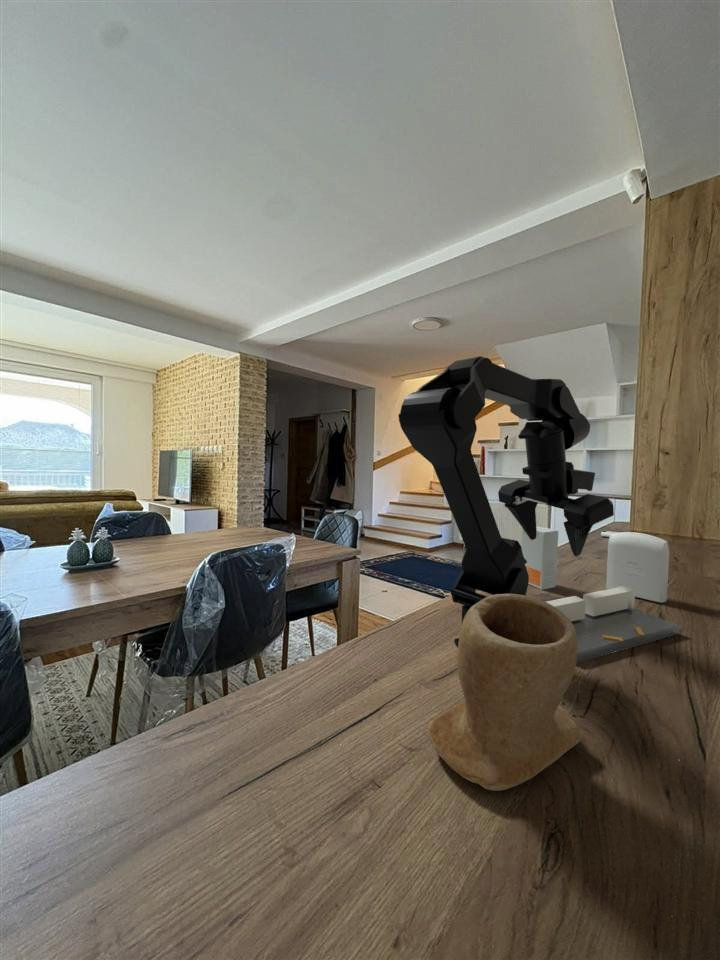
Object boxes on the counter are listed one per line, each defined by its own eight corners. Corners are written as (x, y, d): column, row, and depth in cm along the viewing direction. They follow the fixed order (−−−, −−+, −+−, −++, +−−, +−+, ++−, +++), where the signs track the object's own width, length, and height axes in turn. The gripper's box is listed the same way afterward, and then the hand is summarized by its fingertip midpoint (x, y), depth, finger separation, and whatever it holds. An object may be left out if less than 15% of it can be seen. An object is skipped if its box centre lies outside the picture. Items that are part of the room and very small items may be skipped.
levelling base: (573, 665, 56) (574, 645, 55) (503, 625, 68) (504, 609, 67) (679, 635, 65) (680, 617, 65) (601, 604, 77) (601, 590, 77)
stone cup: (509, 839, 31) (517, 646, 30) (411, 741, 41) (414, 594, 40) (620, 762, 39) (630, 606, 38) (514, 695, 49) (519, 570, 48)
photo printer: (602, 590, 85) (605, 530, 84) (610, 585, 87) (613, 527, 86) (662, 605, 77) (667, 539, 76) (669, 600, 80) (674, 536, 78)
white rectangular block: (537, 629, 62) (538, 610, 62) (525, 623, 64) (526, 604, 64) (585, 618, 66) (586, 600, 66) (572, 613, 68) (573, 595, 68)
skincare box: (518, 581, 90) (521, 526, 89) (533, 578, 92) (535, 525, 91) (541, 590, 84) (544, 532, 83) (556, 587, 86) (559, 530, 85)
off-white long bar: (622, 602, 73) (623, 585, 73) (636, 607, 71) (637, 590, 71) (581, 611, 69) (582, 593, 69) (594, 616, 67) (595, 598, 67)
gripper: (636, 452, 62) (640, 547, 66) (538, 442, 79) (545, 518, 83) (583, 473, 58) (590, 572, 62) (491, 458, 75) (501, 537, 79)
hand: (554, 546), depth 71 cm, fingers open, 9 cm apart
